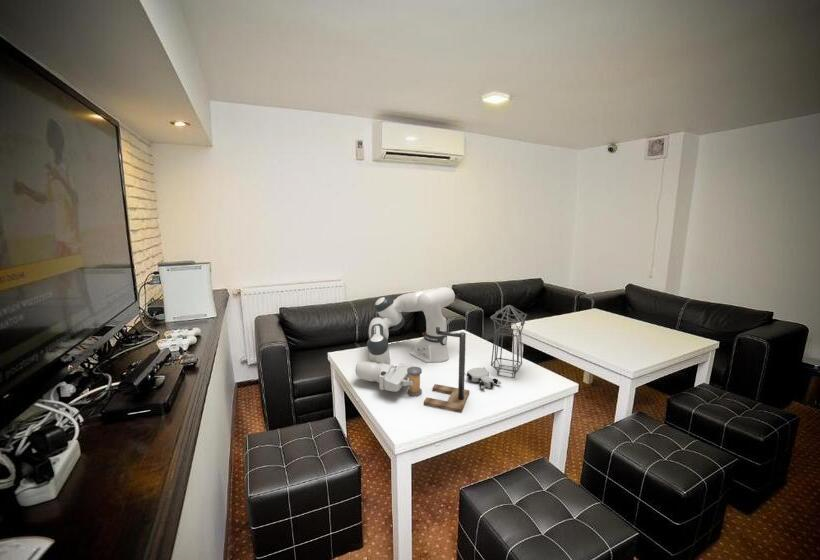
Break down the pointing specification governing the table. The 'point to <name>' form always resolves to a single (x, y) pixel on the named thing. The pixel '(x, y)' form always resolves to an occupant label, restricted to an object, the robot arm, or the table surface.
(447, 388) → the notched board
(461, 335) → the hook stand
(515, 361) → the geometric lantern
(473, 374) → the robot toy
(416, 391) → the cord spool
